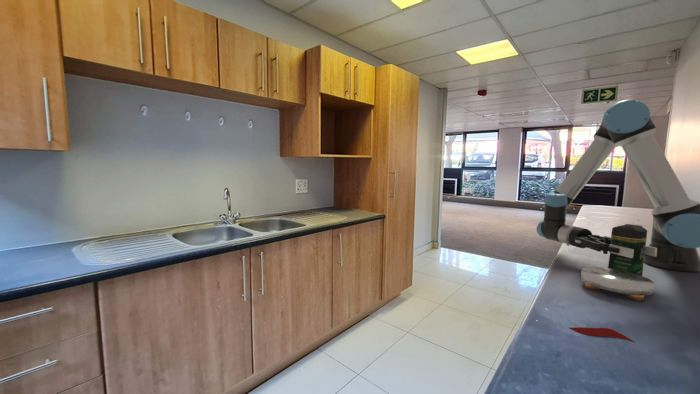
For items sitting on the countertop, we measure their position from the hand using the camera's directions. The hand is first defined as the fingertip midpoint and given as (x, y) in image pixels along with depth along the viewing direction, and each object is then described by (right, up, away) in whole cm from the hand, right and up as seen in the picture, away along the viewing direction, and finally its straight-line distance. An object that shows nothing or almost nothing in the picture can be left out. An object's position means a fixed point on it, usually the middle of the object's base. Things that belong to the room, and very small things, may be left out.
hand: (644, 253), depth 90 cm
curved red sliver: (-36, -14, -26) cm, 46 cm away
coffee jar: (-1, -10, +6) cm, 12 cm away
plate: (-12, -11, -3) cm, 16 cm away
